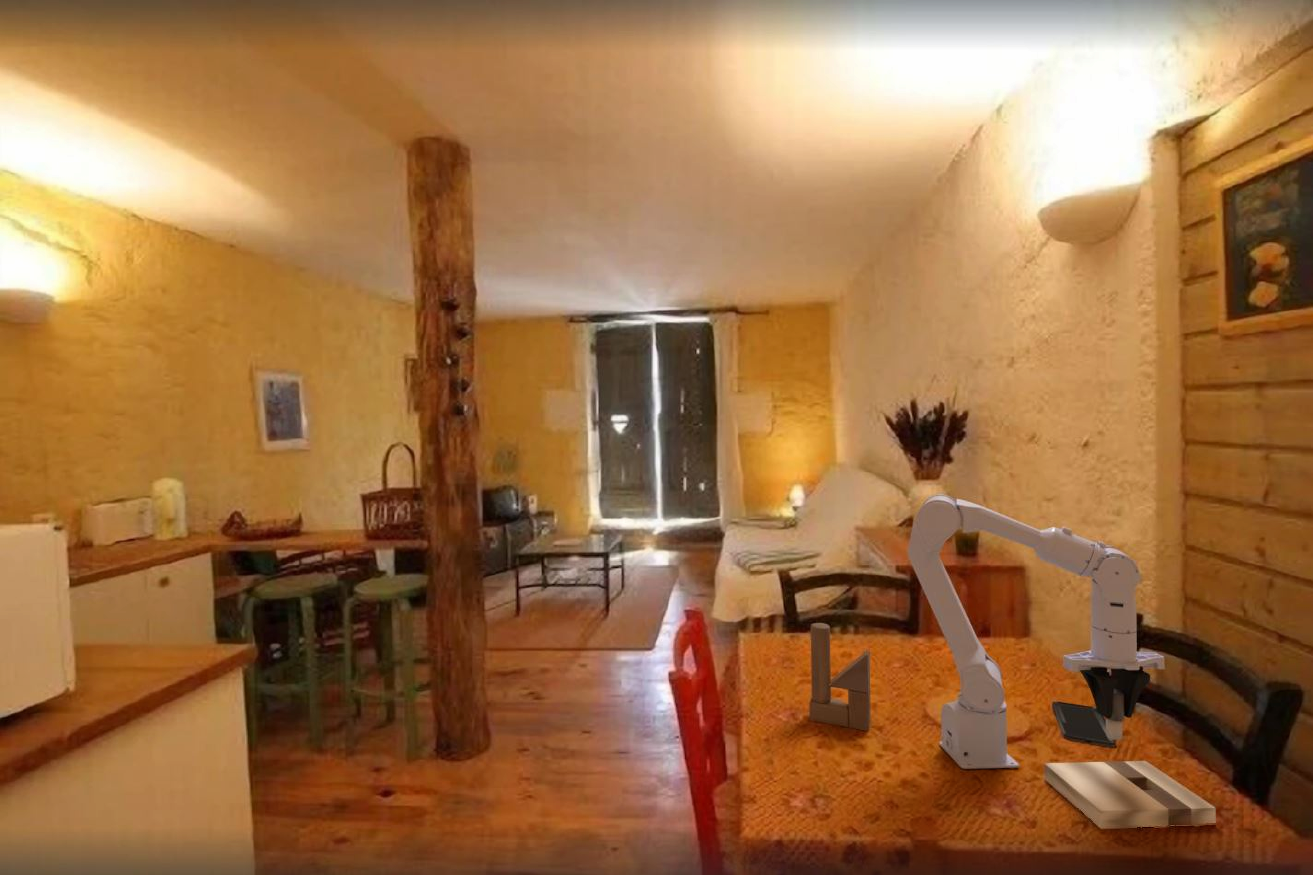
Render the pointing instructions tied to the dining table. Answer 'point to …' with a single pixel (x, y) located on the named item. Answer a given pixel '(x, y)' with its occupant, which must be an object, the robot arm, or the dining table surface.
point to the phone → (1081, 724)
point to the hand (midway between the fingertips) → (1114, 715)
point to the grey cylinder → (1116, 717)
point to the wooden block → (838, 685)
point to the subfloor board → (1127, 794)
